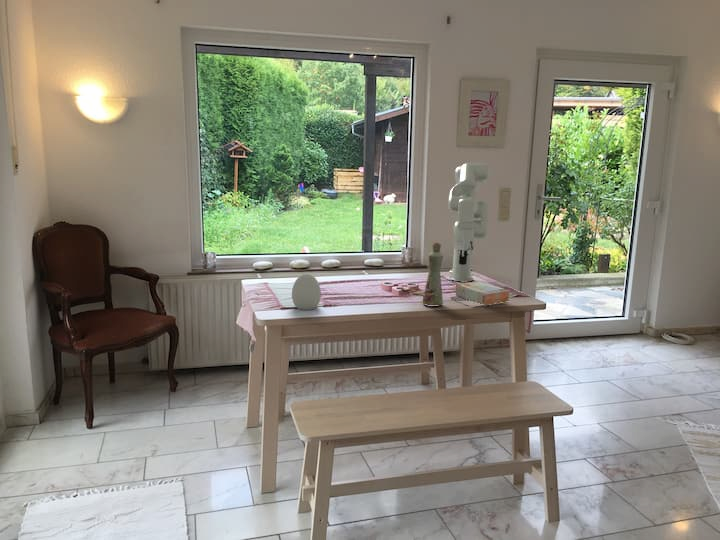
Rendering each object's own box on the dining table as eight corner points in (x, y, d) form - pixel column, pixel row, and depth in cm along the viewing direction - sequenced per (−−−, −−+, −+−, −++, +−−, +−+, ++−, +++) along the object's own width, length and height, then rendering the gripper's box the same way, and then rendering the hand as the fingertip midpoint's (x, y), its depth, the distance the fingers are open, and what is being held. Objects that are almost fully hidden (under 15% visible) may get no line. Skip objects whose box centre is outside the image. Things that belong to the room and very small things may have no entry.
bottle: (442, 308, 258) (446, 244, 252) (421, 306, 260) (424, 243, 254) (443, 303, 266) (447, 241, 260) (423, 301, 268) (426, 240, 262)
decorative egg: (321, 303, 259) (321, 270, 256) (320, 311, 248) (321, 276, 244) (292, 303, 259) (292, 269, 256) (290, 311, 247) (291, 275, 244)
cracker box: (455, 296, 278) (485, 306, 260) (455, 283, 277) (486, 293, 259) (478, 292, 285) (509, 302, 267) (478, 280, 283) (510, 289, 266)
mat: (450, 298, 275) (450, 297, 274) (481, 295, 283) (481, 293, 283) (472, 307, 261) (472, 305, 261) (503, 303, 269) (504, 302, 269)
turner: (399, 290, 287) (399, 288, 286) (405, 289, 290) (405, 286, 290) (426, 297, 276) (426, 295, 276) (432, 295, 280) (432, 293, 280)
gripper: (448, 223, 280) (446, 261, 284) (469, 228, 267) (466, 268, 271) (461, 222, 284) (459, 260, 288) (482, 227, 271) (479, 266, 275)
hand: (462, 264), depth 280 cm, fingers closed
